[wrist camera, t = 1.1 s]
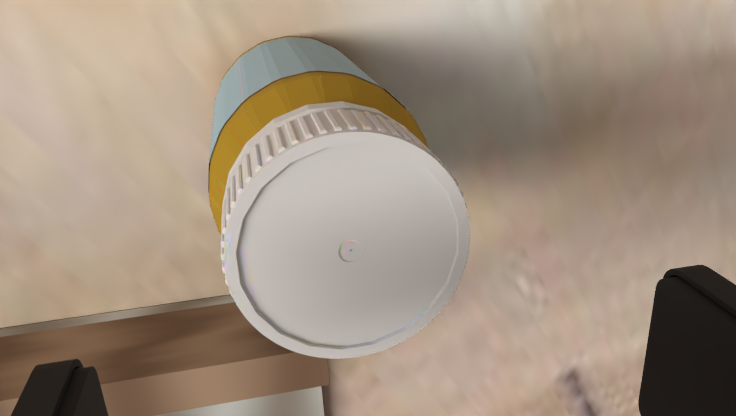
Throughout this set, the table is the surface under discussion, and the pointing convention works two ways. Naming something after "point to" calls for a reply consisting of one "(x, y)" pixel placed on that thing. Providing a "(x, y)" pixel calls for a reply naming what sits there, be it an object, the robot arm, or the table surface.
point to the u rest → (171, 362)
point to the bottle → (329, 204)
